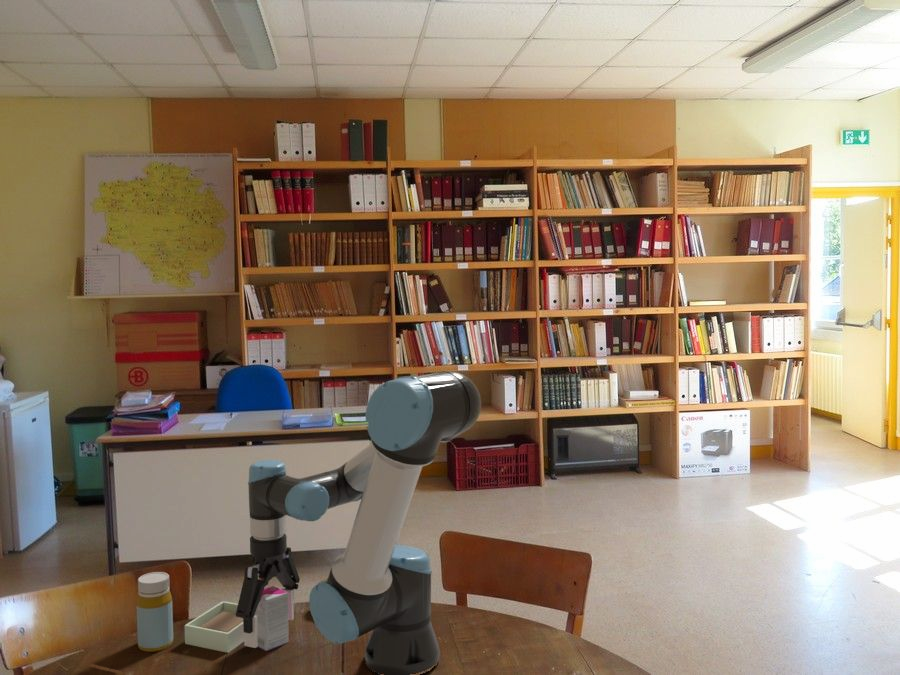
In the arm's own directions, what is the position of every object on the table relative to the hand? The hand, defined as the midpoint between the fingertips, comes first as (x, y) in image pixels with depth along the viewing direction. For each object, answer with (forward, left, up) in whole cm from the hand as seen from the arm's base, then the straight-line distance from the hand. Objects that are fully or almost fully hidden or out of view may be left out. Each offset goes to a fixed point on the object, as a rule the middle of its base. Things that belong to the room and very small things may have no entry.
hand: (270, 632), depth 167 cm
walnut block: (+11, +1, -2) cm, 11 cm away
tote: (+11, +1, -3) cm, 11 cm away
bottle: (+22, +9, -3) cm, 24 cm away
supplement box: (0, 0, -3) cm, 3 cm away
